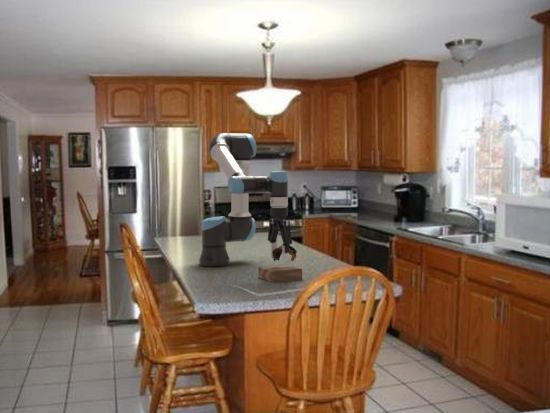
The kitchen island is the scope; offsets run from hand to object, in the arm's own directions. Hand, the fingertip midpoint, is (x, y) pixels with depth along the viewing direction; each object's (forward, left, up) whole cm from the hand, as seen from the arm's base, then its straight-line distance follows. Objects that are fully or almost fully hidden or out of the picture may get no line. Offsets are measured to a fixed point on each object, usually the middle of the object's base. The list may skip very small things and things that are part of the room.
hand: (279, 259), depth 241 cm
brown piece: (0, 0, -2) cm, 2 cm away
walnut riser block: (0, 0, -9) cm, 9 cm away
